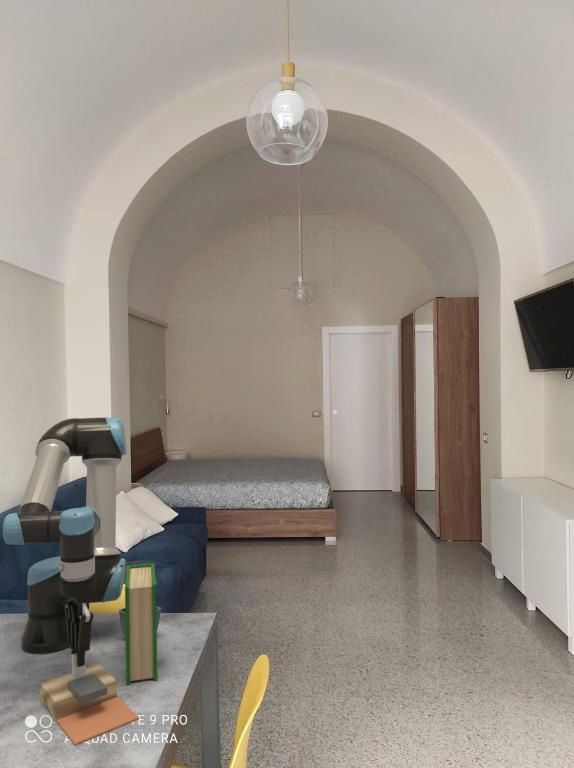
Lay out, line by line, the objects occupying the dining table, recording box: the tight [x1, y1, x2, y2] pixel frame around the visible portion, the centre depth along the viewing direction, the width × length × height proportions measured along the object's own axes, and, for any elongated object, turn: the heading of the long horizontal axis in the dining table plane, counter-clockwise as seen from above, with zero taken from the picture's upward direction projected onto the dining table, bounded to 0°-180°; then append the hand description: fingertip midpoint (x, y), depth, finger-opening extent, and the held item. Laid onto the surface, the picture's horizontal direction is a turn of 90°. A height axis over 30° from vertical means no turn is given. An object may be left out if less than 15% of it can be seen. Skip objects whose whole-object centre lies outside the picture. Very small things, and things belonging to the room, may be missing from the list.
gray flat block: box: [68, 673, 107, 704], centre depth 130 cm, size 8×6×2 cm
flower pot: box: [118, 605, 162, 638], centre depth 165 cm, size 9×9×9 cm
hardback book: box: [124, 562, 158, 686], centre depth 150 cm, size 18×7×24 cm, turn 14°
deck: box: [39, 663, 118, 722], centre depth 134 cm, size 11×14×4 cm
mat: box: [56, 696, 140, 746], centre depth 125 cm, size 11×14×1 cm
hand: (78, 678), depth 133 cm, fingers closed
